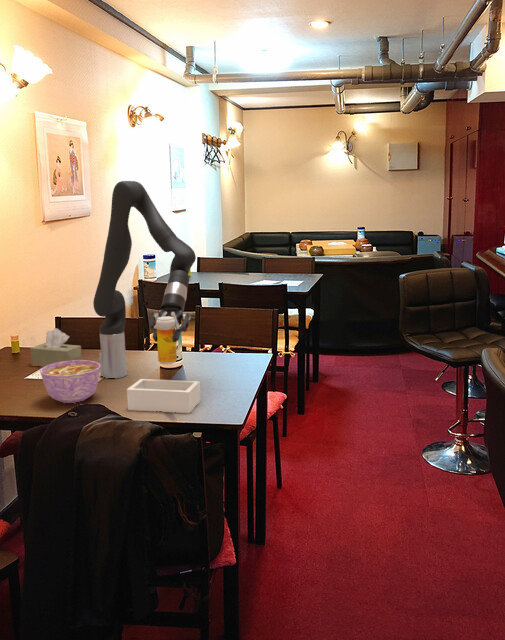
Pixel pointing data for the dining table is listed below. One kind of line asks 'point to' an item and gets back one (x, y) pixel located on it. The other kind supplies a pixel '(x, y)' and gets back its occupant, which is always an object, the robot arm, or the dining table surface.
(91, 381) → the bowl of food
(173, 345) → the beer can
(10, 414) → the dining table surface
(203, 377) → the dining table surface
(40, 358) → the tissue box
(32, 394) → the dining table surface
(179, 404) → the white rectangular tray
